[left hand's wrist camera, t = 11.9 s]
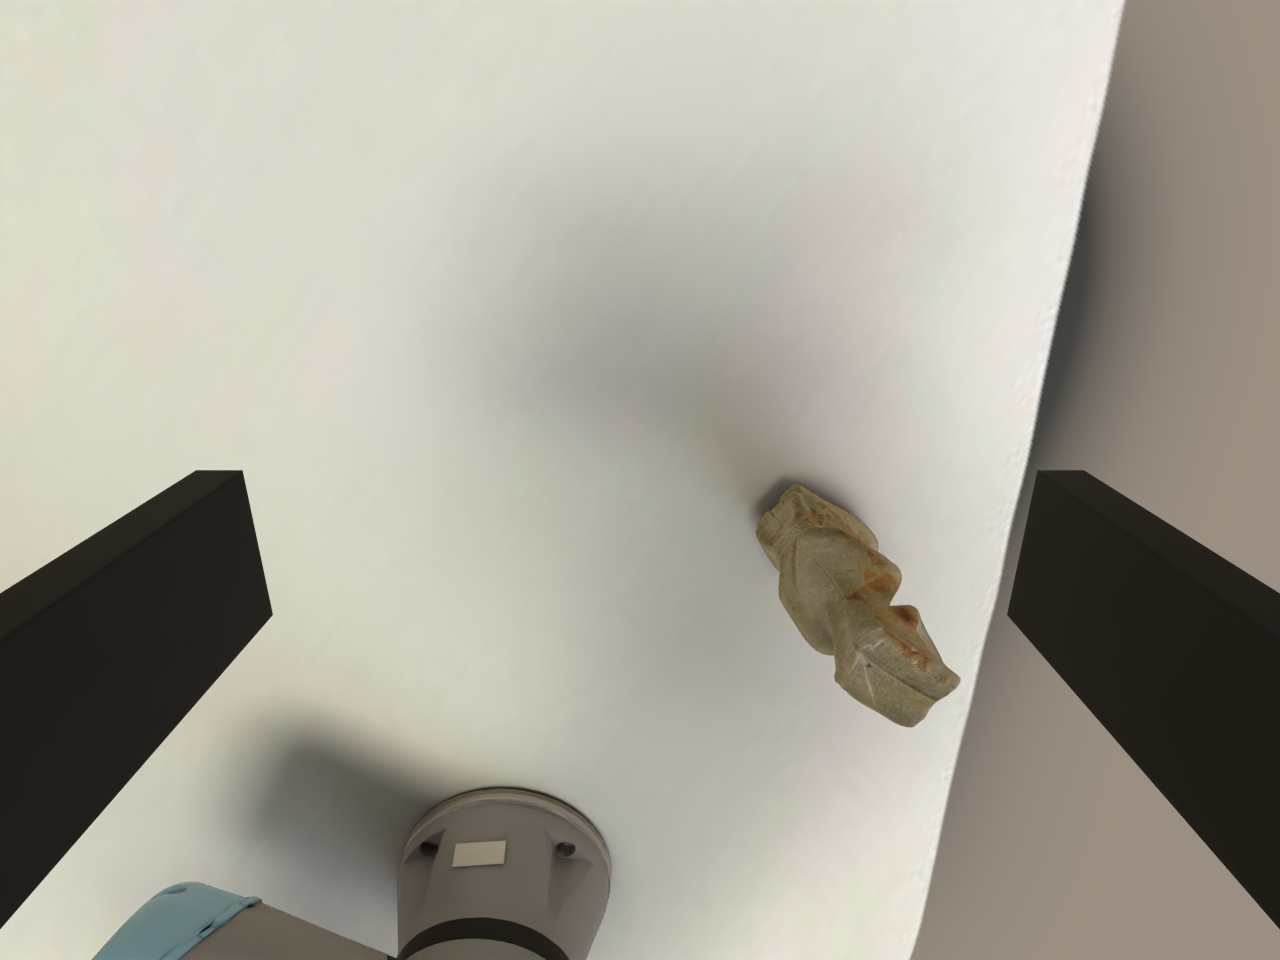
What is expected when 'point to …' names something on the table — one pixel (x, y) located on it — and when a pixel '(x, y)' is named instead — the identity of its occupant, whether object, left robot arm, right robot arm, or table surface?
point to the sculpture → (853, 607)
